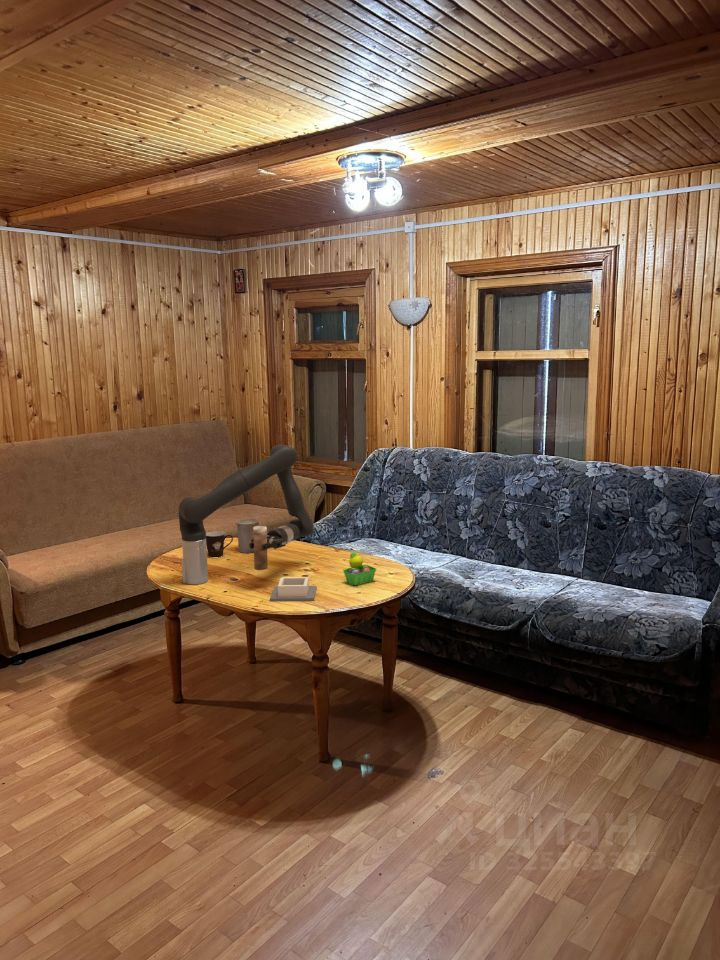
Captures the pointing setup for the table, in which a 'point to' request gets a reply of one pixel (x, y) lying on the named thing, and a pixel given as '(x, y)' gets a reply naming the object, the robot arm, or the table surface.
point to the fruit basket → (358, 571)
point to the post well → (293, 590)
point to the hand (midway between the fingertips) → (256, 546)
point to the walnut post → (260, 548)
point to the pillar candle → (246, 534)
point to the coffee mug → (216, 543)
